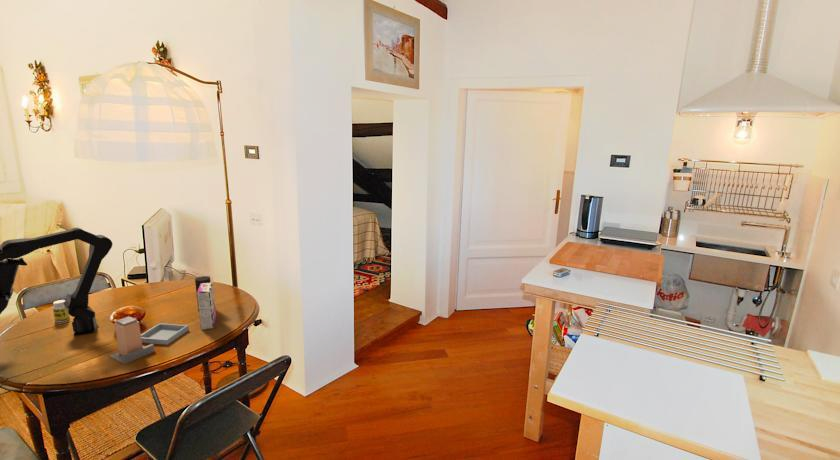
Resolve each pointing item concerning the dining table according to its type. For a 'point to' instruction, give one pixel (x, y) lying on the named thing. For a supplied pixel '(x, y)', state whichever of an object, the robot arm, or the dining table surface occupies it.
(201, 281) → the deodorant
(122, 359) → the plate
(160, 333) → the tray
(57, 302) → the supplement bottle
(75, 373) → the dining table surface
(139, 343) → the tall pink carton
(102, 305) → the dining table surface
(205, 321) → the candy bar box
